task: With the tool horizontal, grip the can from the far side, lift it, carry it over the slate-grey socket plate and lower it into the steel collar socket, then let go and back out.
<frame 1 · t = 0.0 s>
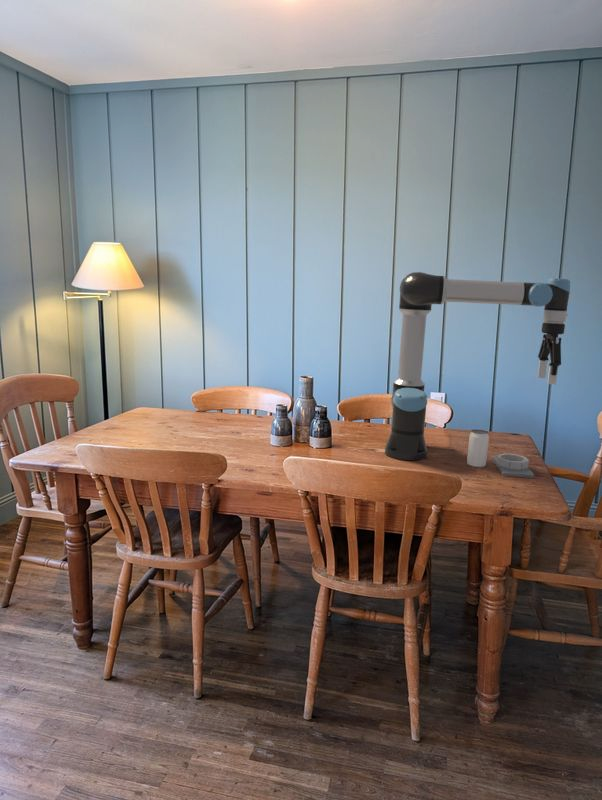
hand: (546, 381, 215), 28 cm above the table, tool pointing down, fingers open, 13 cm apart
socket plate: (511, 467, 203), on the table
can: (476, 465, 205), on the table
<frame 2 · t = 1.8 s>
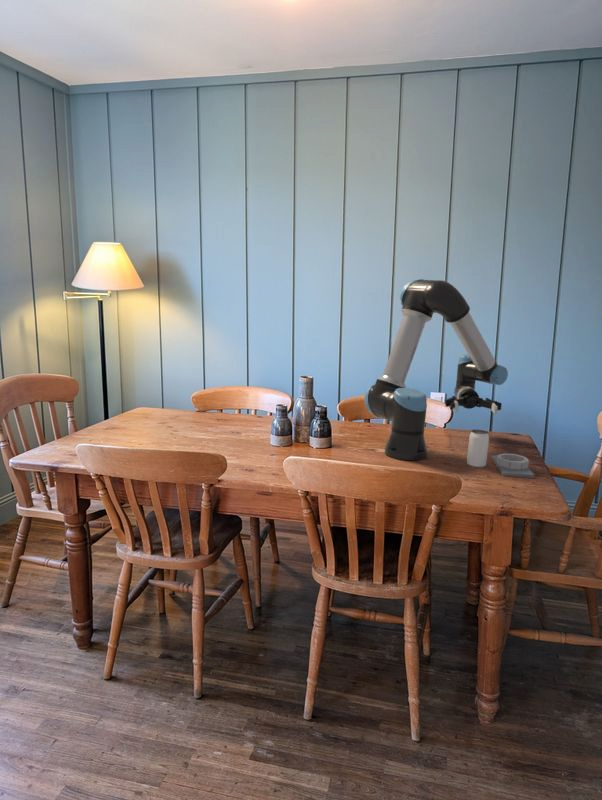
hand: (476, 409, 211), 17 cm above the table, tool horizontal, fingers open, 13 cm apart
nothing on the table moved.
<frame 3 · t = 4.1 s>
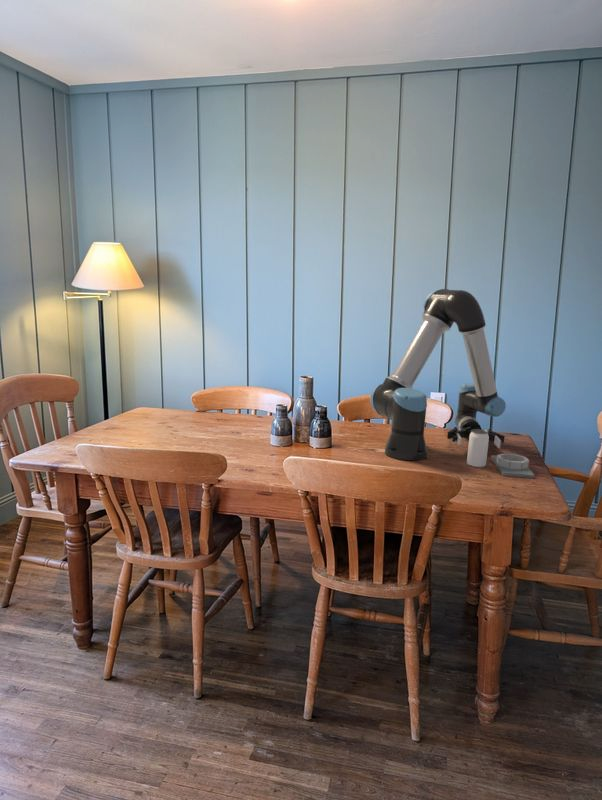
hand: (479, 443, 207), 7 cm above the table, tool horizontal, fingers open, 13 cm apart
nothing on the table moved.
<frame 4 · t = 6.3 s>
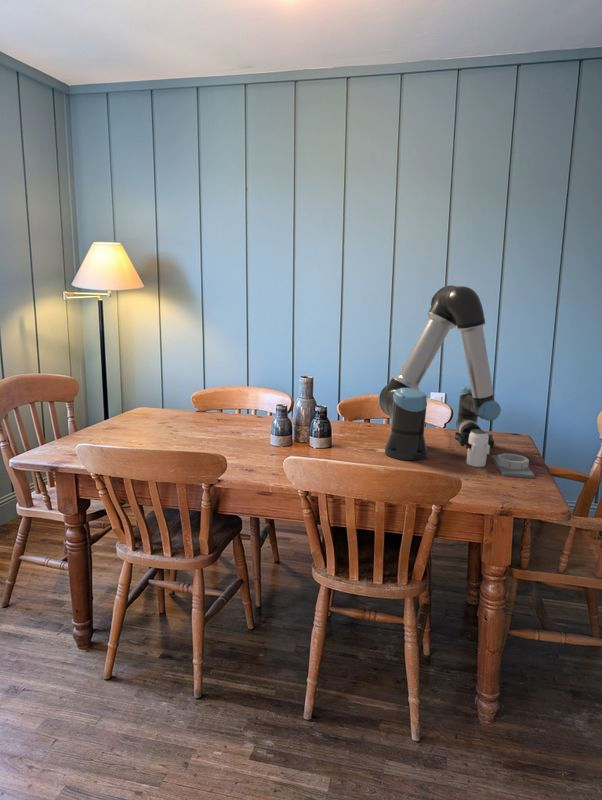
hand: (481, 449, 198), 7 cm above the table, tool horizontal, fingers closed on can, 4 cm apart
can: (475, 465, 205), on the table, touching gripper
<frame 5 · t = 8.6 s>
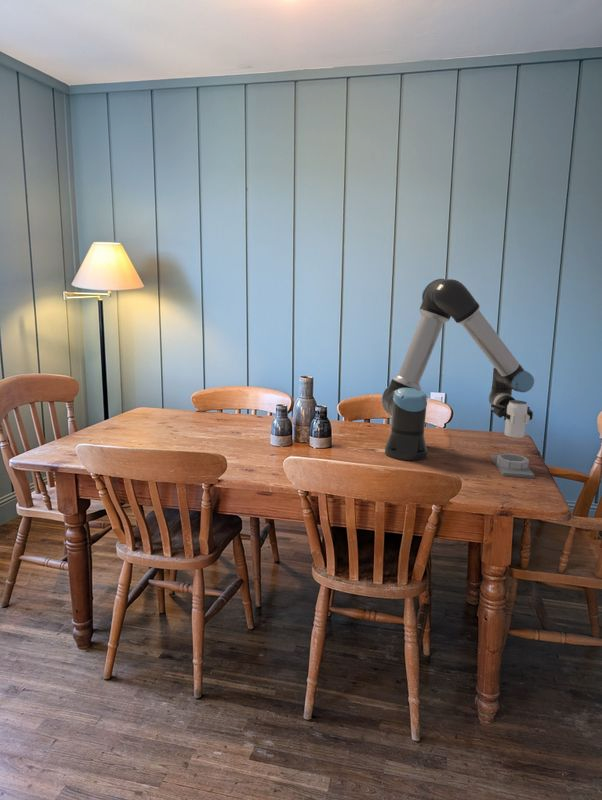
hand: (521, 419, 194), 18 cm above the table, tool horizontal, fingers closed on can, 4 cm apart
can: (513, 436, 201), point 11 cm above the table, touching gripper
when the fingers open (9 cm above the table, at t = 11.0 s): can stays where it is, resting on socket plate.
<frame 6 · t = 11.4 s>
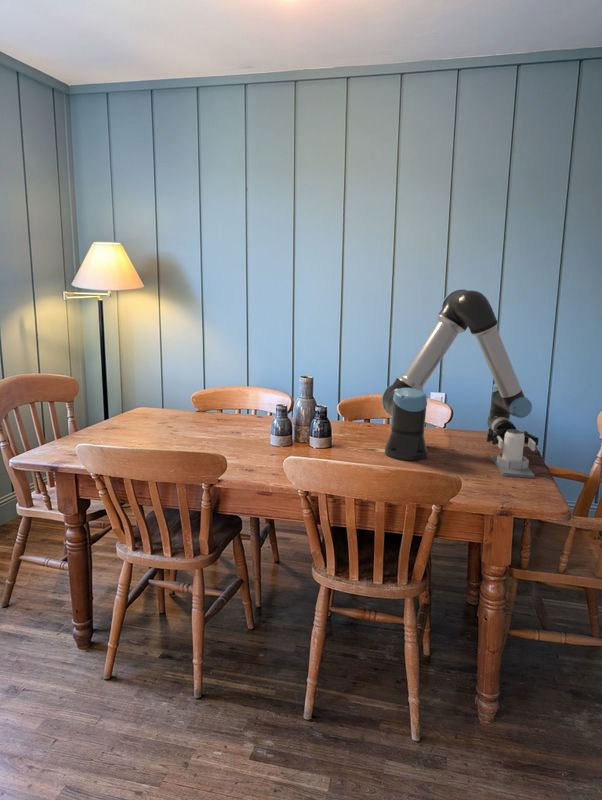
hand: (517, 445, 197), 9 cm above the table, tool horizontal, fingers open, 10 cm apart
can: (511, 465, 203), point 1 cm above the table, touching socket plate
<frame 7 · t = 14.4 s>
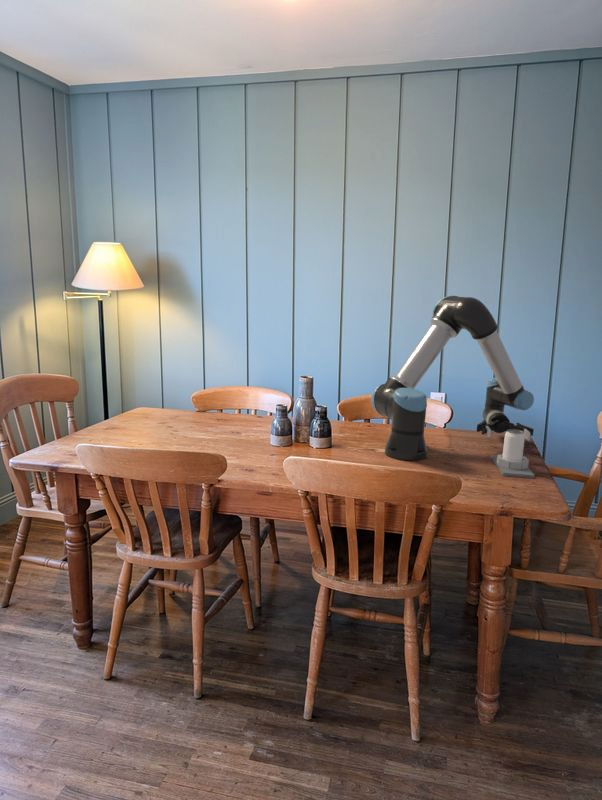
hand: (509, 435, 210), 9 cm above the table, tool horizontal, fingers open, 13 cm apart
nothing on the table moved.
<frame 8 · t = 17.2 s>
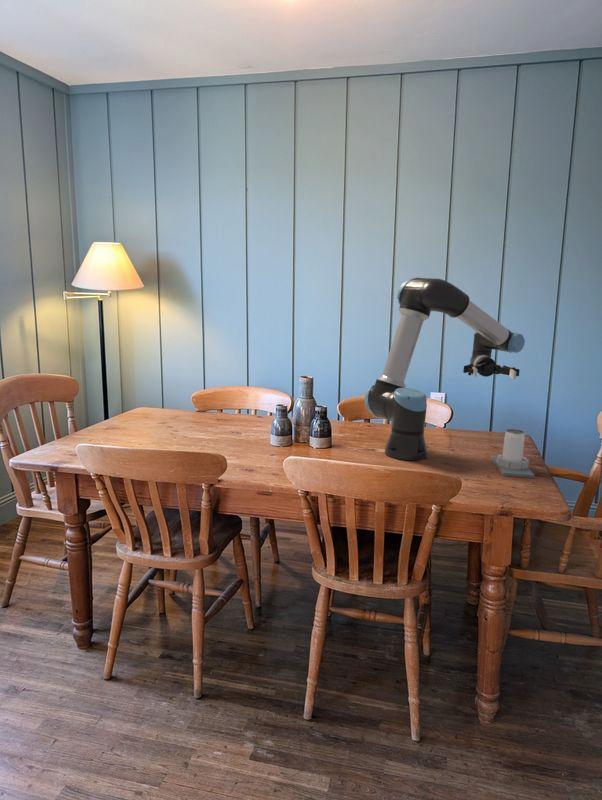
hand: (495, 374, 212), 30 cm above the table, tool horizontal, fingers open, 13 cm apart
nothing on the table moved.
at the end: can 0.4 cm from the socket plate (horizontally); can tilted 0°; the gripper is holding nothing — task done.
